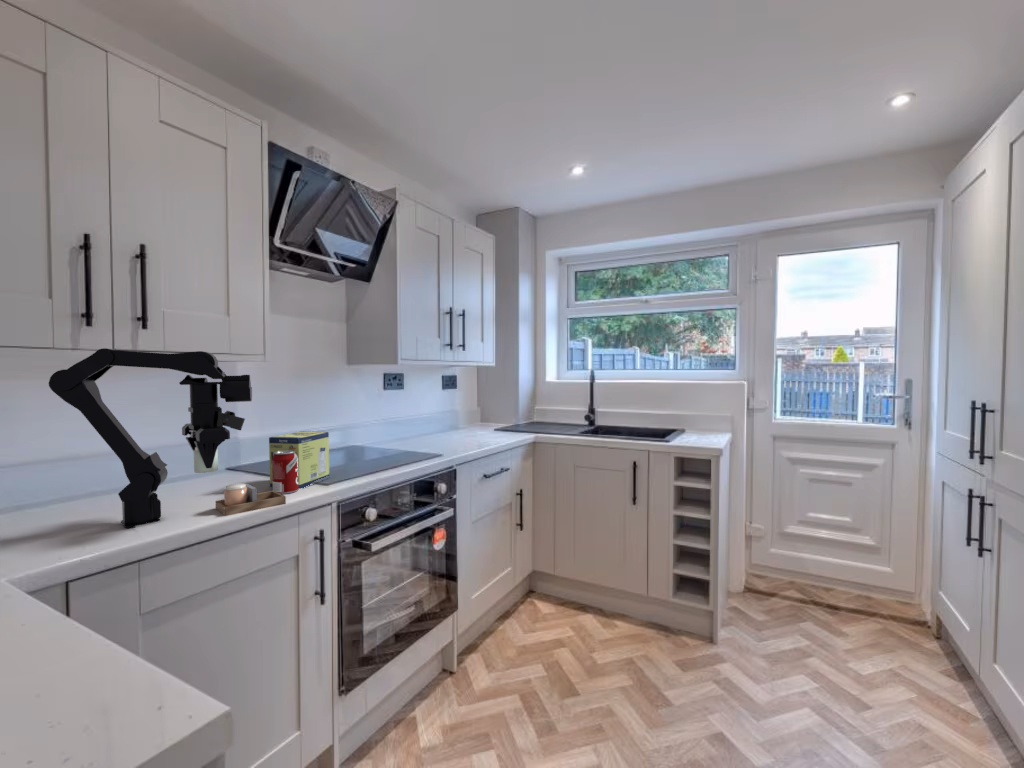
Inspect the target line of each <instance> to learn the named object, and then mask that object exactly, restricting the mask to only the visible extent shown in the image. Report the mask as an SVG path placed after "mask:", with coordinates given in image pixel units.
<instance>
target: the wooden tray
mask: <svg viewBox="0 0 1024 768" xmlns="http://www.w3.org/2000/svg"><path fill="white" fill-rule="evenodd" d="M286 498H287V497H286V496H285V494H280V493H277V492H275V491H273V490H269V491H264V492H258V493H257V501H254V502H249V503H244V504H239V505H233V506H228V507H226V506H225V501H224V499H219V500H218V499H217V500H215V510H216V511H218V512H220V513H221V514H222V515H224V516H225V517H227V516H232V515H238V514H242V513H248V512H252V511H257V510H263V509H268V508H273V507H277V506H283V505H286V503H287V502H286V501H287V500H286Z"/></svg>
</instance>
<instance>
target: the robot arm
mask: <svg viewBox="0 0 1024 768" xmlns="http://www.w3.org/2000/svg"><path fill="white" fill-rule="evenodd" d="M116 366H117V367H133V368H148V369H149V368H151V369H164V370H165V369H168V370H172V371H179V372H182V373H187V375H186V376H185V377H184V378H183V379H182V380H180V381H179V382H178V383H179V385H180V386H183V385H184V386H186V385H187V386H189V407H187V409H188V412H189V413H190V423H185V424H184V425H183V426H182V427H181V436H184V437H185V436H186V437H185V440H186V441H187V443H188V445H189V447H190V448H191V450H192V451H193V453H194V450H195V447H197V449H198V451H199V453H200V456H201V458H202V460H203V462H204V464H205V467H206V468H211V467H212V465H213V461H214V457H215V453H216V450H217V448H218V447H219V446H220V445H221V444H223V443H224V442H225V441H226V440H230V439H231V437H230V435H231V432H230V430H229V429H227V428H226V427H228V428H230V429H233V430H236V431H237V430H238V431H242V428H243V426H244V423H245V420H246V418H244V417H239V416H236V413H235V412H234V411H231V410H230V411H229V410H226V411H225V412H223V409H222V407H221V406H219V397H220V399H224V400H225V403H240V402H241V403H242V402H252V400H253V387H252V384H251V381H252V380H251V375H250V374H241V375H227V374H226V373H225V371H224V370H223V369H222V368H221V367H219V362H218V359H217V357H216V355H214V354H213V353H210V352H208V351H203V350H202V351H199V350H198V351H187V352H175V353H174V352H173V353H165V352H163V353H162V352H150V351H149V352H147V351H133V350H121V349H120V350H119V349H112V348H105V347H104V348H100V349H98V350H95V352H93V353H92V354H90V355H89V356H87V357H85V358H83V359H82V360H80V361H78V362H76V363H74V364H73V365H71V366H69V368H67V369H60V370H57V371H55V372H54V373H52V375H51V376H50V378H49V380H48V387H49V388H50V390H51V391H52V392H53V393H54V394H55V395H57V396H58V397H59V398H60V399H61V400H63V402H65V403H66V404H68V405H70V406H72V407H73V408H75V409H77V410H78V411H79V412H80V413H81V414H82V415H83V416H84V418H86V420H87V421H88V422H89V424H90V425H91V426H92V427H93V429H95V431H96V432H97V433H98V434H99V436H100V437H101V438H102V439H103V441H104V442H105V443H106V444H107V445H108V447H109V448H110V449H111V450H112V451H113V452H114V453H115V455H116V457H118V459H119V460H120V461H121V463H122V466H123V470H124V473H125V476H126V478H127V480H128V481H129V483H128V484H127V485H126V486H125V487H124V488H123V489H121V490H120V491H119V492H118V497H119V499H120V501H121V502H122V503H121V507H122V508H121V510H122V511H121V512H122V513H121V514H122V519H121V521H120V522H121V525H122V526H123V527H124V528H125V529H128V528H135V527H136V526H140V525H141V526H142V525H147V524H152V523H156V522H160V521H161V517H162V505H161V504H162V501H161V500H160V498H158V494H157V493H156V492H157V491H158V489H159V487H160V485H162V484H163V483H164V482H165V481H166V479H167V477H168V469H167V468H166V467H167V466H168V464H167V463H166V462H164V461H163V460H162V459H161V457H160V454H158V452H157V451H155V452H153V453H152V454H150V453H148V452H146V451H144V450H143V449H142V448H141V447H140V445H138V443H137V442H136V440H135V439H134V438H133V437H132V436H131V435H130V433H129V432H128V431H127V429H126V428H125V427H124V426H123V425H122V423H121V422H120V421H119V420H118V418H117V417H116V416H115V415H114V413H112V411H111V409H109V408H108V406H107V405H106V403H105V402H104V401H103V399H102V396H101V393H100V392H101V391H100V389H99V387H98V385H97V383H96V381H97V380H100V378H101V377H103V376H104V375H105V374H106V373H108V372H109V370H111V369H112V368H113V367H116ZM190 374H192V375H197V376H207V377H209V378H210V379H212V380H221V381H208V378H207V377H192V375H190ZM218 385H219V395H218ZM188 435H189V436H188Z"/></svg>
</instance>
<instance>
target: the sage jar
mask: <svg viewBox="0 0 1024 768" xmlns="http://www.w3.org/2000/svg"><path fill="white" fill-rule="evenodd" d="M216 471H219V449H218V447H217V450H216V453H215V457H214V461H213V465H212V467H211V468H206V467H205V464H204V462H203V460H202V458H201V456H200V453H199V451H198V449H197V447H195V450H194V452H193V473H195V474H205V473H212V472H216Z"/></svg>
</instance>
